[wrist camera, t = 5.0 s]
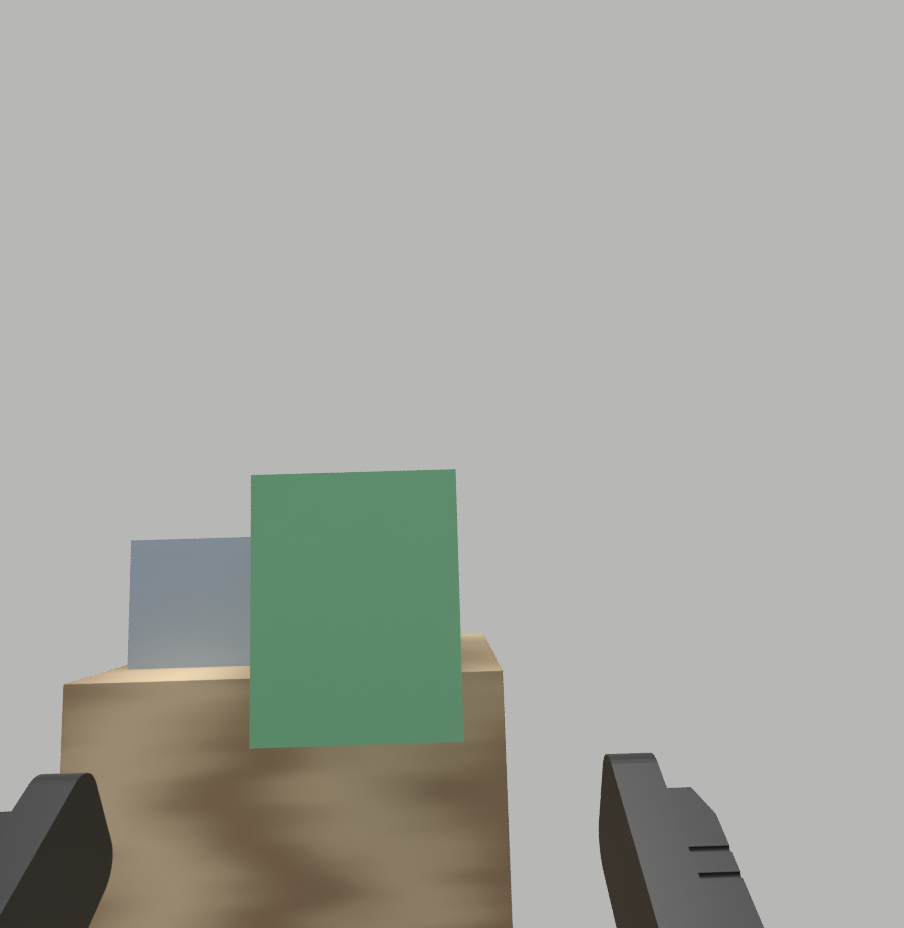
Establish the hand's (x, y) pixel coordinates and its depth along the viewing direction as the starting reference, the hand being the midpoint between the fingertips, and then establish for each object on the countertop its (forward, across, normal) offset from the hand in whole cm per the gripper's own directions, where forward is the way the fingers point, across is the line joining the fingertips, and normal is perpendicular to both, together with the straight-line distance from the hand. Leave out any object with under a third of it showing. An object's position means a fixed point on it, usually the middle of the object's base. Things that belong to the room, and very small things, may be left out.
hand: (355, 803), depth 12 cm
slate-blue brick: (+13, -6, -7) cm, 16 cm away
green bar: (+9, 0, -4) cm, 10 cm away
